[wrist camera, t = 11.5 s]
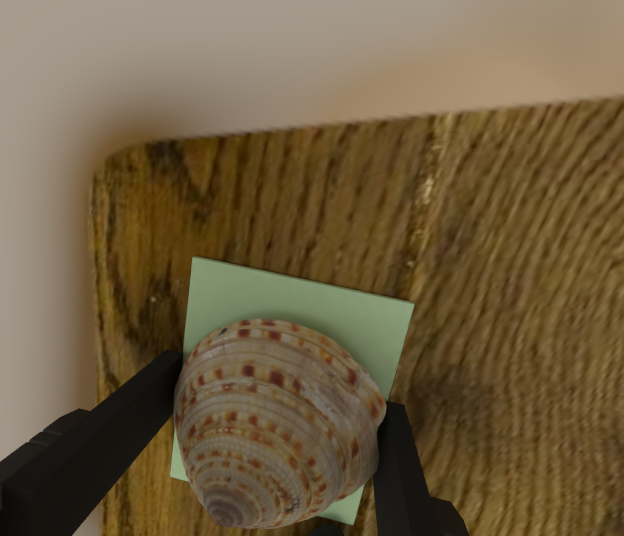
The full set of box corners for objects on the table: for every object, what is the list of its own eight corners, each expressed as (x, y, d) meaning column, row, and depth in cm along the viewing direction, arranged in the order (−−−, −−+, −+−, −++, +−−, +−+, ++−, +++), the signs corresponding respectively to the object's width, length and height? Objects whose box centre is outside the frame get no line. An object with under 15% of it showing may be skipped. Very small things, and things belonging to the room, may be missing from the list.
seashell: (437, 494, 11) (225, 653, 9) (368, 414, 16) (227, 505, 15) (344, 287, 10) (80, 426, 8) (303, 275, 15) (142, 357, 13)
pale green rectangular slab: (195, 255, 13) (192, 256, 12) (413, 301, 12) (415, 304, 12) (172, 471, 15) (169, 476, 15) (353, 519, 15) (353, 525, 14)
